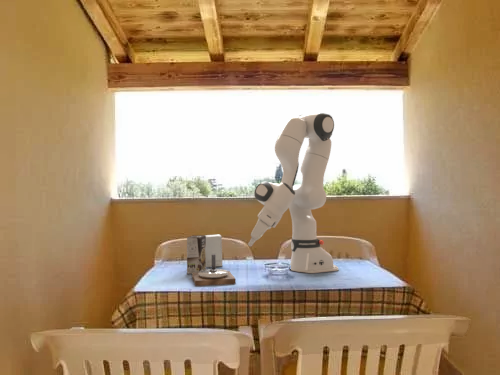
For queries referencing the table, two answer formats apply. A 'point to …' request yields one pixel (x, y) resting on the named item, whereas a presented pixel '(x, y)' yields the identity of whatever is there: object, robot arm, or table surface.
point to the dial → (213, 271)
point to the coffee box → (196, 254)
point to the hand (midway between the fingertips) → (249, 245)
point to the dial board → (213, 280)
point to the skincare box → (213, 249)
